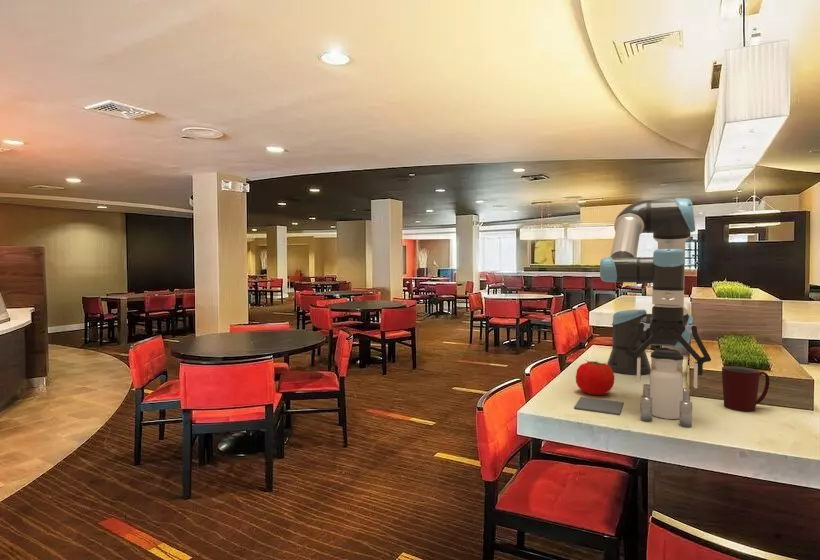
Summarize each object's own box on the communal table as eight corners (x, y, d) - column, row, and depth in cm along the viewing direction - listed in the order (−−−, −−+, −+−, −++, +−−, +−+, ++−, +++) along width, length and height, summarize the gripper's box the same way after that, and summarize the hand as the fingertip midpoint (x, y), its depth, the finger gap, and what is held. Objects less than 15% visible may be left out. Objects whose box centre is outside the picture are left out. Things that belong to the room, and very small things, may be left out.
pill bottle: (643, 411, 134) (644, 358, 134) (670, 410, 135) (671, 357, 134) (660, 420, 126) (661, 364, 126) (689, 419, 127) (690, 363, 127)
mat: (580, 398, 147) (580, 396, 147) (623, 403, 141) (623, 402, 141) (574, 408, 136) (574, 407, 136) (619, 415, 131) (619, 413, 131)
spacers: (643, 404, 141) (643, 383, 141) (689, 409, 135) (689, 388, 135) (640, 420, 126) (640, 398, 126) (692, 428, 121) (692, 404, 120)
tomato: (573, 387, 160) (573, 356, 159) (610, 389, 157) (610, 358, 157) (578, 397, 148) (578, 364, 147) (618, 399, 146) (618, 366, 145)
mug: (757, 403, 141) (758, 366, 140) (778, 413, 132) (779, 373, 132) (714, 402, 142) (715, 365, 142) (732, 412, 133) (732, 372, 133)
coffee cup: (687, 402, 142) (688, 352, 142) (654, 401, 144) (655, 351, 143) (677, 394, 151) (677, 347, 150) (646, 393, 153) (646, 346, 152)
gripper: (616, 305, 132) (615, 381, 133) (723, 309, 120) (722, 393, 121) (618, 303, 139) (617, 376, 139) (721, 307, 127) (719, 386, 127)
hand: (666, 384), depth 130 cm, fingers open, 13 cm apart
